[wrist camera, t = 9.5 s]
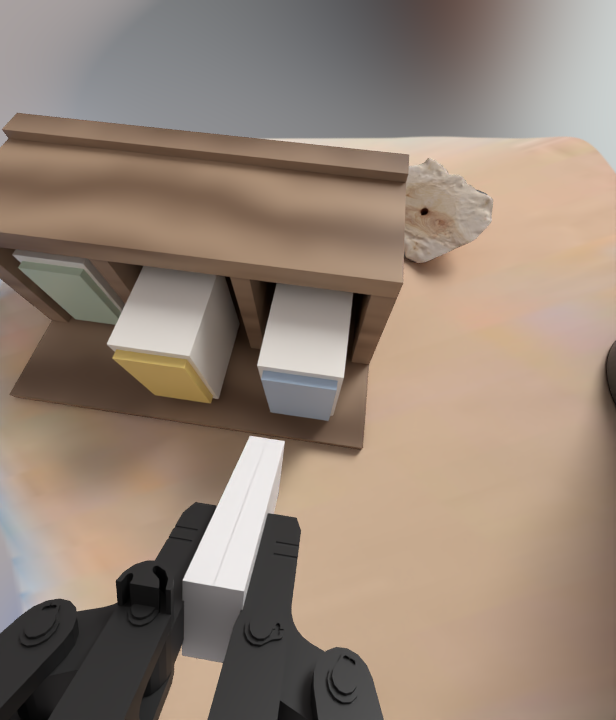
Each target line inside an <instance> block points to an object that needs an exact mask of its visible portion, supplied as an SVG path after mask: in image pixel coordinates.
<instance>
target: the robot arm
mask: <svg viewBox="0 0 616 720" xmlns="http://www.w3.org/2000/svg"><path fill="white" fill-rule="evenodd" d="M607 377H608V383H609V387H610V391H611V394H612V396H613V399H614V401H615V403H616V341H615V343H614V344H613V346H612V348H611V350H610V353H609V356H608V361H607ZM284 444H285V441H281V440H274V439H268V438H261V437H255V436H250V437H249V439H248V441H247V443H246V446H245V448H244V450H243V452H242V454H241V456H240V458H239V461H238V463H237V465H236V467H235V469H234V471H233V473H232V476H231V478H230V480H229V482H228V484H227V486H226V488H225V491H224V493H223V495H222V497H221V499H220V501H219V503H218V506H216V505H210V504H203V503H197V502H195V503H194V504H193V505H192V506H190V507H189V508H188V509H187V510H185V511H184V512H183V513H182V515H181V517H180V519H179V520H178V522H177V524H176V525H175V528H174V529H173V531H172V532H171V534H170V536H169V539H167V541H166V543H165V544H164V546H163V548H162V549H161V551H160V553H159V554H158V556H157V558H156V560H155V561H144V562H141V563H138V564H135V565H133V566H132V567H130V568H129V569H127V570H126V571H124V572H123V573H122V575H121V576H120V577H119V578H118V579H117V580H116V589H117V601H118V603H116V604H113V605H110V606H106V607H102V608H96V609H90V610H84V611H77V612H76V607H75V606H74V605H73V604H72V603H71V602H70V601H68V600H64V599H54V600H48V601H45V602H43V603H41V604H38V605H36V606H34V607H32V608H31V609H29V610H28V611H27V612H25V613H24V614H22V615H21V616H20V617H19V618H17V619H16V620H15V621H14V622H13V623H12V624H11V625H9V626H8V627H7V628H6V629H5V630H4V631H3V632H2V633H0V720H158V719H159V716H160V713H161V711H162V708H163V705H164V703H165V700H166V697H167V695H168V692H169V689H170V687H171V684H172V680H173V675H174V663H175V661H176V658H177V656H178V653H179V651H180V648H181V645H182V655H183V656H188V657H194V658H199V659H205V660H210V661H216V662H221V663H223V666H222V669H221V673H220V677H219V680H218V684H217V687H216V691H215V695H214V698H213V702H212V705H211V709H210V713H209V716H208V720H384V719H383V715H382V712H381V708H380V704H379V701H378V697H377V693H376V690H375V686H374V682H373V679H372V676H371V674H370V672H369V669H368V667H367V665H366V664H365V663H364V661H363V660H362V659H361V658H360V657H359V655H357V654H356V653H354V652H352V651H351V650H349V649H347V648H339V647H335V648H332V649H330V650H327V651H326V652H324V651H323V650H321V649H319V648H318V647H316V646H314V645H313V644H311V643H310V642H308V641H307V640H306V639H305V638H303V637H302V635H301V634H300V633H299V632H298V630H297V629H296V627H295V624H294V622H293V618H292V614H291V605H292V597H293V589H294V582H295V574H296V566H297V558H298V550H299V542H300V534H301V530H300V527H299V524H298V521H297V518H295V517H289V516H282V515H276V514H274V510H275V506H276V502H277V498H278V494H279V485H280V477H281V469H282V460H283V452H284Z"/></svg>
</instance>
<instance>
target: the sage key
mask: <svg viewBox="0 0 616 720" xmlns="http://www.w3.org/2000/svg"><path fill="white" fill-rule="evenodd" d="M12 255H13V256H14V257H15V258H16V259H17V260H18V261H19V262H21V264H20V265H19V267H18V268H19V269H20V270H21V271H22V272H23V273H24V274H25V275H27V276H28V277H29V278H30V279H31V280H32V281H33V282H34V283H36V284H37V285H38V286H39V287H40V288H41V289H42V290H43V291H44V292H46V293H47V294H48V295H49V296H50V297H51V298H52V299H53V300H55V301H56V302H57V303H58V304H59V305H60V306H61V307H62V308H63V309H65V310H66V311H67V312H68V313H69V314H70V315H71V316H72V317H74V318H75V319H77V320H84V321H91V322H99V323H106V324H113V325H116V323H117V321H118V319H119V317H120V315H121V313H122V310H123V308H124V306H125V303H124V302H123V301H122V299H121V298H120V297H119V296H118V295H117V293H116V292H115V291H114V290H113V288H112V287H111V286H110V285H109V283H108V282H107V281H106V280H105V279H104V277H103V276H102V275H101V274H100V272H99V271H98V270H97V269H96V267H95V266H94V265H93V264H92V262H91V261H90V260H89V259H87V258H80V257H72V256H64V255H56V254H48V253H41V252H33V251H25V250H17V249H16V250H15V251H14V253H13V254H12Z"/></svg>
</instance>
